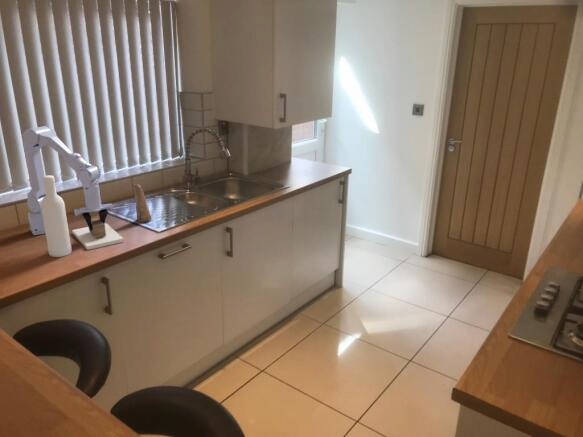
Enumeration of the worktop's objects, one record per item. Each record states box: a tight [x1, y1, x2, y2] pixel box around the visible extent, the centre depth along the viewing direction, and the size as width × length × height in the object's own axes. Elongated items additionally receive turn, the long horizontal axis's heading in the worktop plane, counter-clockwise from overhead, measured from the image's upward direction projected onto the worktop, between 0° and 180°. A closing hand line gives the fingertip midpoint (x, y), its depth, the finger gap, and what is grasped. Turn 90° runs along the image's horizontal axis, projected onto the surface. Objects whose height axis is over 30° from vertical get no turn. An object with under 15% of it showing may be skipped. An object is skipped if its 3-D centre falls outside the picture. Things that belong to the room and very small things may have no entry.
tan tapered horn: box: [133, 183, 152, 223], centre depth 210 cm, size 6×18×6 cm
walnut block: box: [89, 217, 106, 238], centre depth 192 cm, size 9×4×5 cm, turn 38°
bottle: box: [41, 175, 73, 258], centre depth 174 cm, size 8×8×30 cm
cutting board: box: [71, 222, 125, 251], centre depth 193 cm, size 14×21×2 cm, turn 38°
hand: (96, 228), depth 192 cm, fingers closed on walnut block, 4 cm apart
